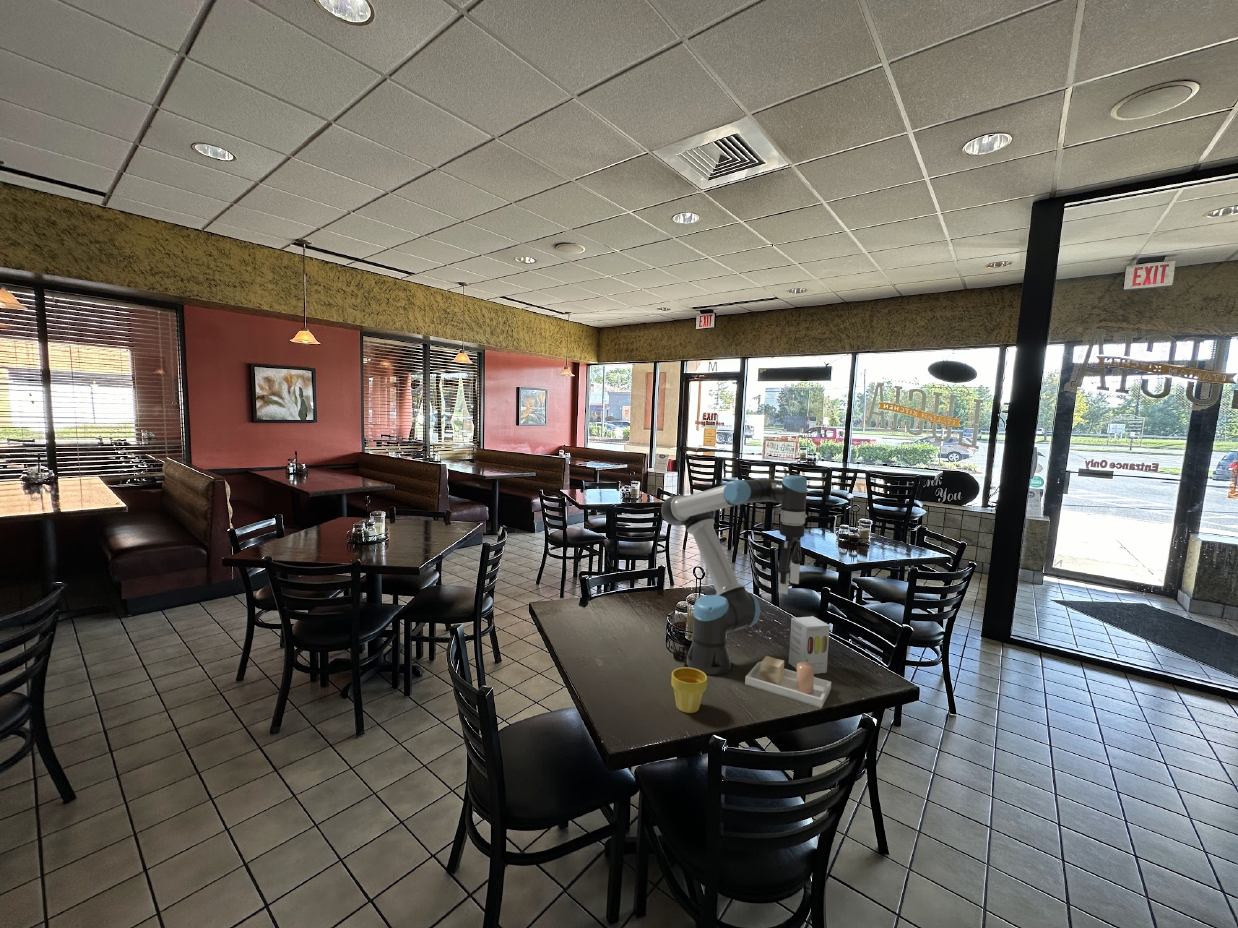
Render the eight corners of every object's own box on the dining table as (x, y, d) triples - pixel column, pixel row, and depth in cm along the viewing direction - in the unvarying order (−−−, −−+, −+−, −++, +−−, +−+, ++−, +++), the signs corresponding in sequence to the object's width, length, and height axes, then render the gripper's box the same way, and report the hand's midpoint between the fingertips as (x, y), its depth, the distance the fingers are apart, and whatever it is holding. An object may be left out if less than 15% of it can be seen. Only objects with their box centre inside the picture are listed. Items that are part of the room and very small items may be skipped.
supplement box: (803, 675, 171) (806, 627, 170) (787, 663, 180) (790, 617, 179) (827, 672, 174) (830, 624, 172) (810, 660, 182) (813, 615, 181)
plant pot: (701, 697, 155) (703, 666, 154) (709, 716, 144) (710, 683, 144) (668, 697, 154) (669, 666, 154) (673, 716, 144) (674, 683, 143)
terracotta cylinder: (799, 684, 163) (799, 660, 163) (815, 689, 160) (815, 664, 160) (794, 690, 159) (794, 666, 159) (810, 695, 156) (810, 670, 156)
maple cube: (759, 679, 166) (760, 662, 165) (765, 672, 171) (766, 655, 170) (778, 685, 162) (778, 667, 162) (783, 678, 167) (784, 660, 167)
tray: (744, 684, 164) (745, 676, 163) (758, 668, 175) (758, 661, 175) (821, 708, 151) (822, 699, 150) (830, 689, 162) (831, 681, 162)
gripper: (794, 530, 150) (790, 600, 152) (813, 519, 171) (809, 581, 173) (769, 527, 155) (765, 595, 156) (790, 517, 175) (787, 577, 177)
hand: (788, 588), depth 164 cm, fingers open, 13 cm apart
